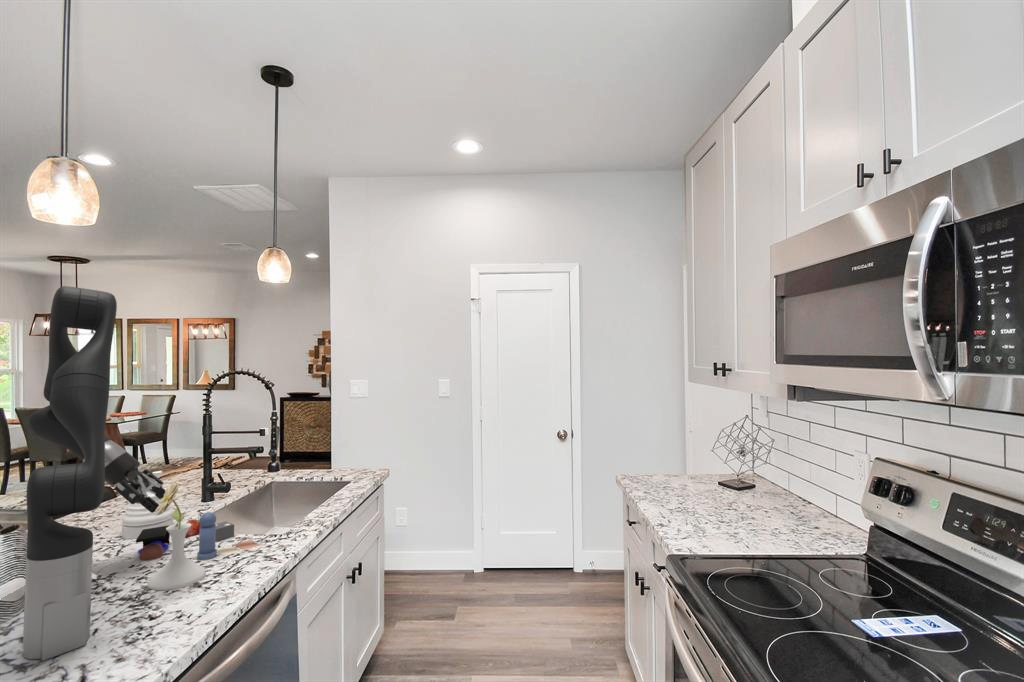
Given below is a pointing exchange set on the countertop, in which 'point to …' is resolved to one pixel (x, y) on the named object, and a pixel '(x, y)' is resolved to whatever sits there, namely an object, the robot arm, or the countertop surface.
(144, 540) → the figurine character
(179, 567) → the flower in vase
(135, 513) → the honey pot
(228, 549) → the board
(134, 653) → the countertop surface
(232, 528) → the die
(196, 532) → the pomegranate
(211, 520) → the pawn
